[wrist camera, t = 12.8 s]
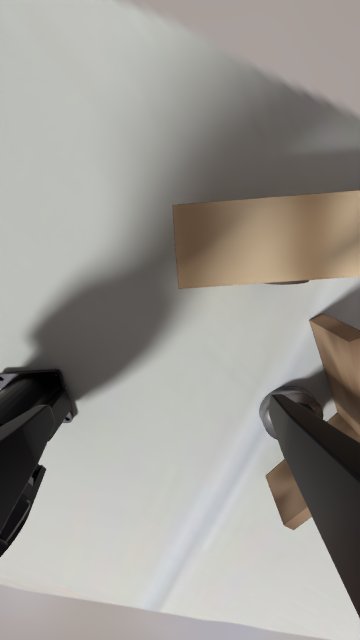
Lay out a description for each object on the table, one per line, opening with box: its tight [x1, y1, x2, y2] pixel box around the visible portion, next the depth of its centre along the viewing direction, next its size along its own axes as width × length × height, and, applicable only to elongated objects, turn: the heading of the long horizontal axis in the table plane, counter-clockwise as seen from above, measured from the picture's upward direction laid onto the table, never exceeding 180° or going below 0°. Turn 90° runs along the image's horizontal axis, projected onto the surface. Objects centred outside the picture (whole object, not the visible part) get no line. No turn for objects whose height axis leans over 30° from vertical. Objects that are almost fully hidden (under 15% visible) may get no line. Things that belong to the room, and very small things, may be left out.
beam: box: [173, 190, 360, 289], centre depth 16 cm, size 16×5×5 cm, turn 94°
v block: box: [266, 314, 360, 530], centre depth 21 cm, size 8×22×5 cm, turn 176°
